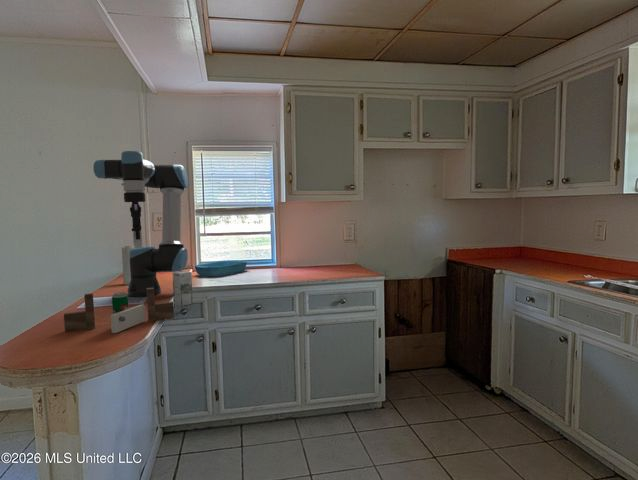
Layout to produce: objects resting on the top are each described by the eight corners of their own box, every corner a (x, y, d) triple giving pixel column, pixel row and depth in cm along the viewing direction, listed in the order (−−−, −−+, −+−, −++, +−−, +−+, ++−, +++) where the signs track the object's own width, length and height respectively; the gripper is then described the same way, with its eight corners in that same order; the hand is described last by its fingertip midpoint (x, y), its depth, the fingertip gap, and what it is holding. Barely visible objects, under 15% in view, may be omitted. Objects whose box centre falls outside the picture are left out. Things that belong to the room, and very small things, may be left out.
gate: (141, 320, 148) (141, 304, 147) (148, 320, 147) (147, 304, 147) (111, 332, 133) (110, 314, 133) (118, 333, 133) (117, 315, 132)
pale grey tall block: (121, 284, 226) (119, 246, 224) (129, 282, 232) (127, 245, 230) (131, 285, 224) (129, 247, 222) (139, 283, 229) (137, 246, 228)
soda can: (113, 326, 143) (112, 292, 142) (129, 324, 145) (127, 291, 144) (113, 330, 138) (111, 295, 137) (129, 327, 140) (127, 293, 139)
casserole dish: (228, 269, 282) (227, 258, 281) (253, 270, 271) (253, 260, 270) (187, 277, 250) (187, 265, 249) (214, 279, 239) (214, 267, 238)
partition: (66, 330, 139) (63, 295, 138) (173, 316, 154) (171, 285, 153) (64, 332, 136) (62, 297, 135) (174, 318, 151) (172, 286, 150)
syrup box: (185, 302, 177) (183, 270, 176) (193, 304, 174) (191, 271, 172) (173, 305, 173) (171, 272, 172) (181, 307, 169) (179, 273, 168)
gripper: (123, 192, 166) (127, 244, 168) (123, 191, 143) (127, 250, 146) (143, 192, 169) (146, 242, 171) (146, 191, 147) (150, 248, 149)
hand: (137, 246), depth 158 cm, fingers open, 13 cm apart
